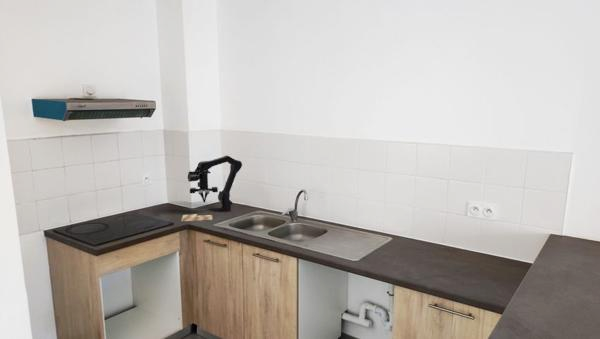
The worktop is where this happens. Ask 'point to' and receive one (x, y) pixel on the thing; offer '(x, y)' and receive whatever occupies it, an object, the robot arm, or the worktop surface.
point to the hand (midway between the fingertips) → (204, 202)
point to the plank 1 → (189, 216)
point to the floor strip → (197, 218)
